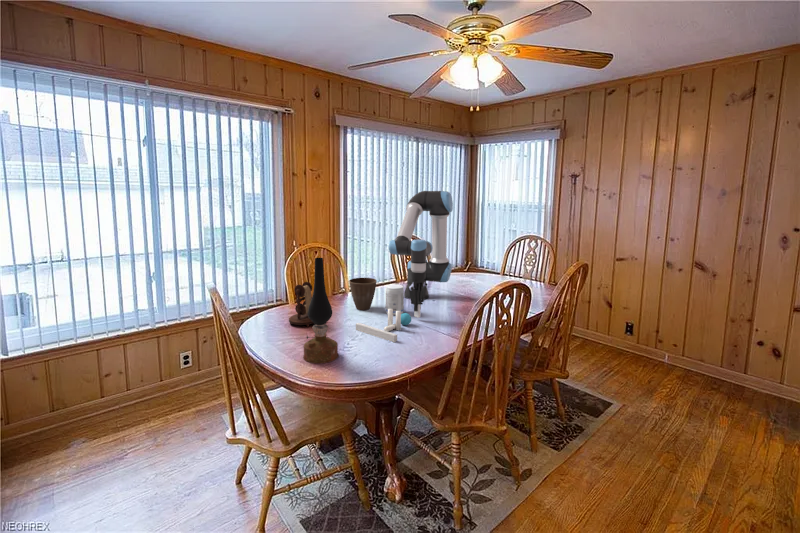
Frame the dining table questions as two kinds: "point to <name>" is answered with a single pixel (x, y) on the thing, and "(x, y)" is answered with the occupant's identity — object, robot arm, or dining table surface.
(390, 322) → the pin
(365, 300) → the plant pot
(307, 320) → the dark brown upright piece
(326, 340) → the oil lamp
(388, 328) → the front pin
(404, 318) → the ball
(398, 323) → the pin
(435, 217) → the robot arm
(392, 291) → the supplement tub
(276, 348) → the dining table surface
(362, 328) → the back wall
